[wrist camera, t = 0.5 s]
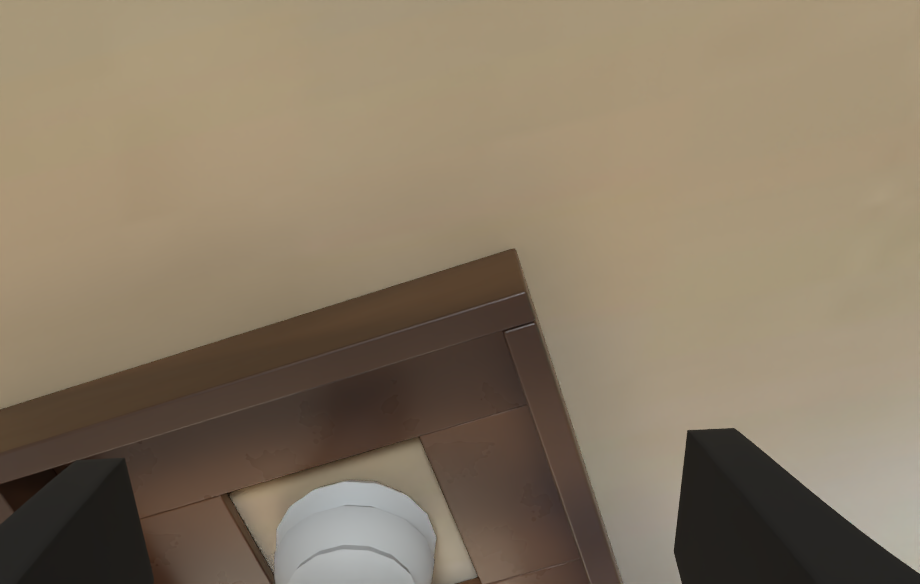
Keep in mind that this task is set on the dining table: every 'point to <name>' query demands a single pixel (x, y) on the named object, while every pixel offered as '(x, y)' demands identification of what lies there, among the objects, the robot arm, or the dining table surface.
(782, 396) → the dining table surface
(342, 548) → the rook chess piece
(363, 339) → the tray
